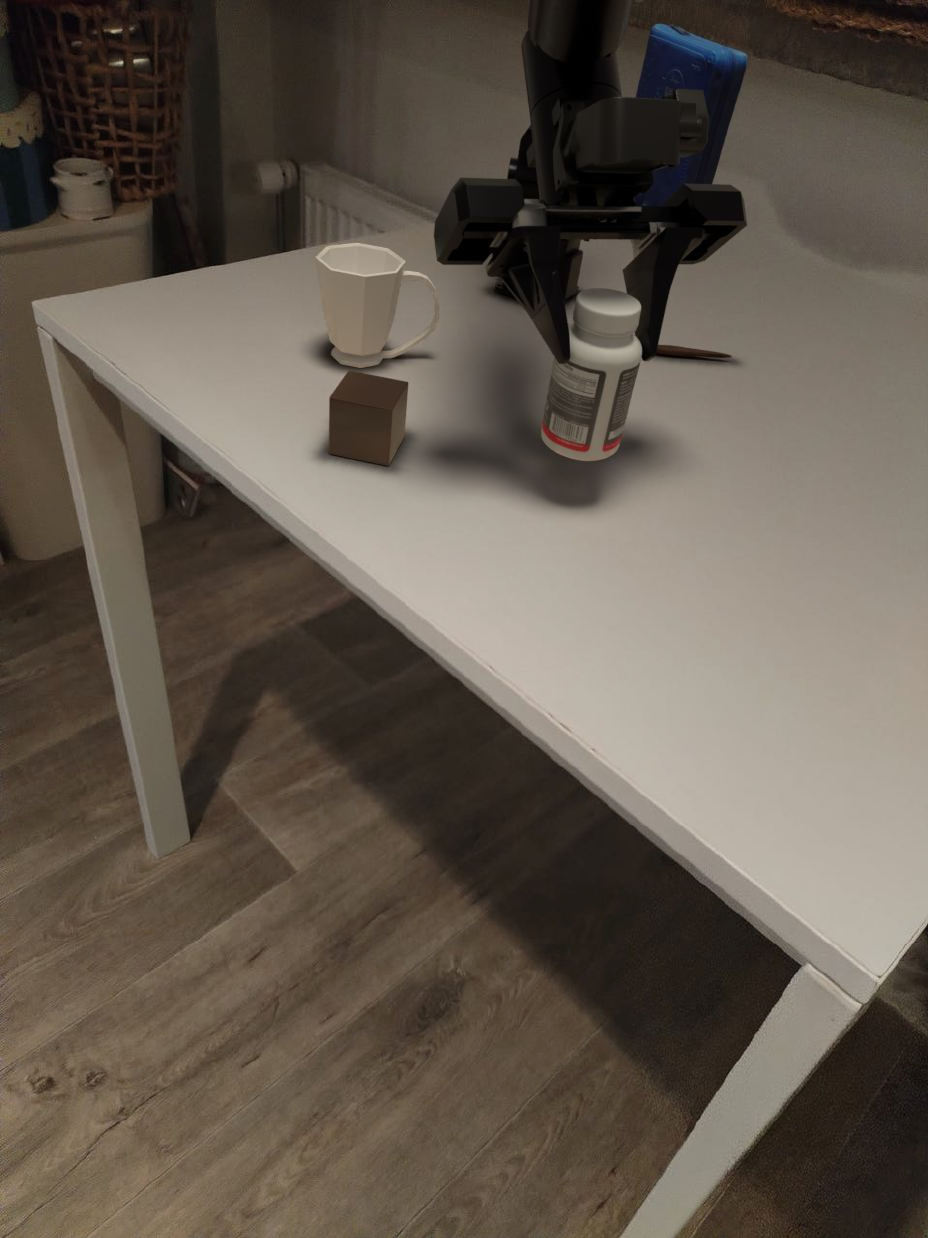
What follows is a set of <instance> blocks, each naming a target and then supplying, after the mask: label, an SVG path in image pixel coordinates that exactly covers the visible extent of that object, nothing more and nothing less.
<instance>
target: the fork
mask: <svg viewBox="0 0 928 1238" xmlns="http://www.w3.org/2000/svg"><path fill="white" fill-rule="evenodd" d="M571 324H572V323H569V322H568V326H569V325H571ZM656 354H661V355H668V356H676V357H677V356H678V357H679V356H680V357H699V358H712V359H713V358H714V359H730V358H732V355H731V354H728V353H723V352H719V351H713V350H705V349H698V348H692V347H687V346H686V347H685V346H680V345H670V344H658V347H657V352H656Z"/></svg>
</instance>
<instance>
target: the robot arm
mask: <svg viewBox="0 0 928 1238" xmlns="http://www.w3.org/2000/svg"><path fill="white" fill-rule="evenodd" d="M643 2H645V0H528V9H527V31H526V32H525V34H524V36H523V38H522V41H521V47H520V48H521V56H522V64H523V72H524V79H525V89H526V96H527V106H528V111H529V122H530V125H529V126H528V127H527V129H526V131H525V132H524V133H523V135H522V136H521V138H520V141H519V145H518V152H517V157H510V158H509V159H510V160H509V164H508V171H507V177H506V178H491V177H490V178H489V177H487V178H486V177H459V179H458V180H457V182H455V184H454V185H453V186H452V188H450V190H449V193H448V195H447V197H446V198H445V200H444V202H443V205H442V207H441V208H440V211H439V213H438V215H437V216H436V219H435V221H434V228H433V241H434V249H435V257H436V262H438V263H439V264H441V265H442V266H482V265H484V264H485V262H486V261H487V260H488V259H489V258H490V256H492V257H491V258H490V260H489V261H488V263H486V265H485V273H486V276H487V277H489V278H498V279H499V280H500V281H498V282H496V283H495V284H494V287H493V290H494V291H495V292H498V293H501V294H504V295H507V296H510V297H513V298H515V299H516V301H517V302H518V303H519V305H520V306H521V307H522V309H523V310H524V311H525V312H526V314H527V315H528V317H529V319H530V320H531V322H532V323H533V325H534V326H535V328H536V330H537V331H538V333H539V335H540V337H541V338H542V339H543V341H544V342H545V344H546V345H547V347H548V349H549V351H550V352H551V354H552V355H553V358H554V357H555V359H556V360H557V362H558V363H559V364H565V363H566V362H568V361H569V360H570V356H571V354H570V335H569V328H568V323H569V321H568V316H567V310H566V304H565V301H566V300H567V299H569V298H570V297H572V296H574V295H575V294H578V293H579V287H580V286H578V283H579V278H580V273H581V267H582V262H583V257H584V251H583V250H582V249H580V247H581V242H582V241H583V242H590V240H623V241H624V240H625V241H626V240H627V241H629V240H630V242H631V249H632V255H633V259H632V260H631V261H630V262H629V263H627V265H626V266H625V267H624V268H622V274H623V280H624V286H625V291H626V294H629V295H631V296H632V297H634V298H636V299H637V300H638V301H639V302H640V304H641V313H640V318H639V325H638V327H637V329H636V331H635V332H634V335H635V336H636V337H637V338H638V340H639V341H640V343H641V346H642V357H641V361H643V362H650V361H651V360H653V359H654V358H655V357H656V355H657V353H656V352H657V347H658V345H659V343H660V337H661V334H662V333H661V332H662V328H663V324H664V318H665V314H666V310H667V306H668V300H669V295H670V292H671V289H672V285H673V282H674V280H675V276H676V273H677V271H678V267H679V265H695V264H699V263H702V262H705V261H707V259H709V258H710V257H711V256H713V255H714V254H715V253H716V252H718V250H720V249H721V248H722V247H723V246H724V245H726V244H727V243H728V242H729V241H730V240H732V239H733V238H734V237H736V235H738V234H739V233H741V231H742V230H743V229H745V228H746V227H747V226H748V221H747V219H748V218H747V213H746V204H745V198H744V196H743V194H742V191H741V190H739V189H738V188H736V187H735V186H734V185H732V184H720V183H719V184H717V183H716V184H715V183H714V184H713V183H712V184H684V183H683V184H682V185H681V186H680V187H679V188H678V189H677V190H676V191H675V192H674V193H673V194H672V195H671V197H670V198H669V199H668V200H667V201H666V202H665V203H664V204H663V205H662V206H635V196H636V195H637V194H638V193H646V192H647V191H648V190H649V188H650V187H651V186H652V185H653V184H654V177H653V171H656V170H659V169H662V168H665V167H668V166H669V168H676V167H678V166H679V165H680V157H687V156H690V155H693V154H696V153H699V152H701V151H702V150H703V149H704V147H705V145H706V143H707V140H708V123H709V117H708V112H707V107H706V102H705V97H704V93H703V90H692V89H676V90H674V92H673V94H666V95H664V96H663V97H662V99H653V98H636V97H631V96H623V94H622V87H621V79H620V71H619V64H618V56H617V50H618V49H619V47H620V45H621V44H622V43H623V40H624V38H625V34H626V31H627V27H628V24H629V20H630V15H631V10H632V7H633V3H640V4H641V3H643Z"/></svg>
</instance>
